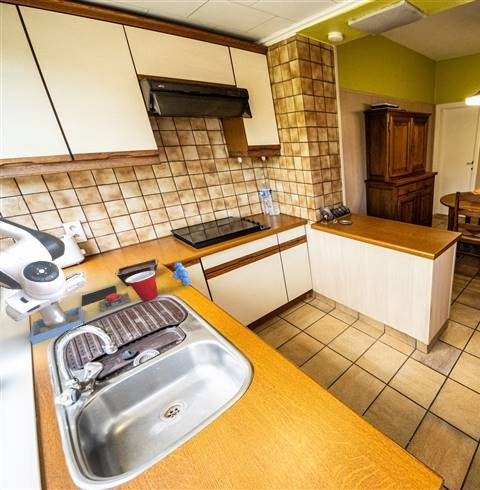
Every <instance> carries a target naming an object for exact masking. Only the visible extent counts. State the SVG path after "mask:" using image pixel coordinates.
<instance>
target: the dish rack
mask: <svg viewBox="0 0 480 490" xmlns="http://www.w3.org/2000/svg"><path fill="white" fill-rule="evenodd" d="M64 312H65V313H66V314H67V315H68V316H69V318H72V317H74V316H77V320H74V321H70V322H69V323H68V324H65V325H62V326H59V327H56V328H54V329H51V330H49V329H47V330H45V331H43V332H40V331H41V328H43V327H45V325H44V322H43V319H42V318H41V319H37V320H35V321H33V322H32V326H31V329H30V332H29V336H28V340H29V341H30V342H31V344H32V345H35V344H36V345H37V344H38V343H42V342H44V341H46V340H49V339H51V338H54V337H57V336H60V335H62V334H61V333H63V332H65V331H67V330H69V329H71V328H73V327H76V326H78V325H80V324H82V323H83V321H84V322H85V310H84V308H83V306H82V305H80V306H77V307H74V308H71V309H68V310H65V311H64ZM65 333H66V332H65ZM59 334H60V335H59ZM63 334H64V333H63Z"/></svg>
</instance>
